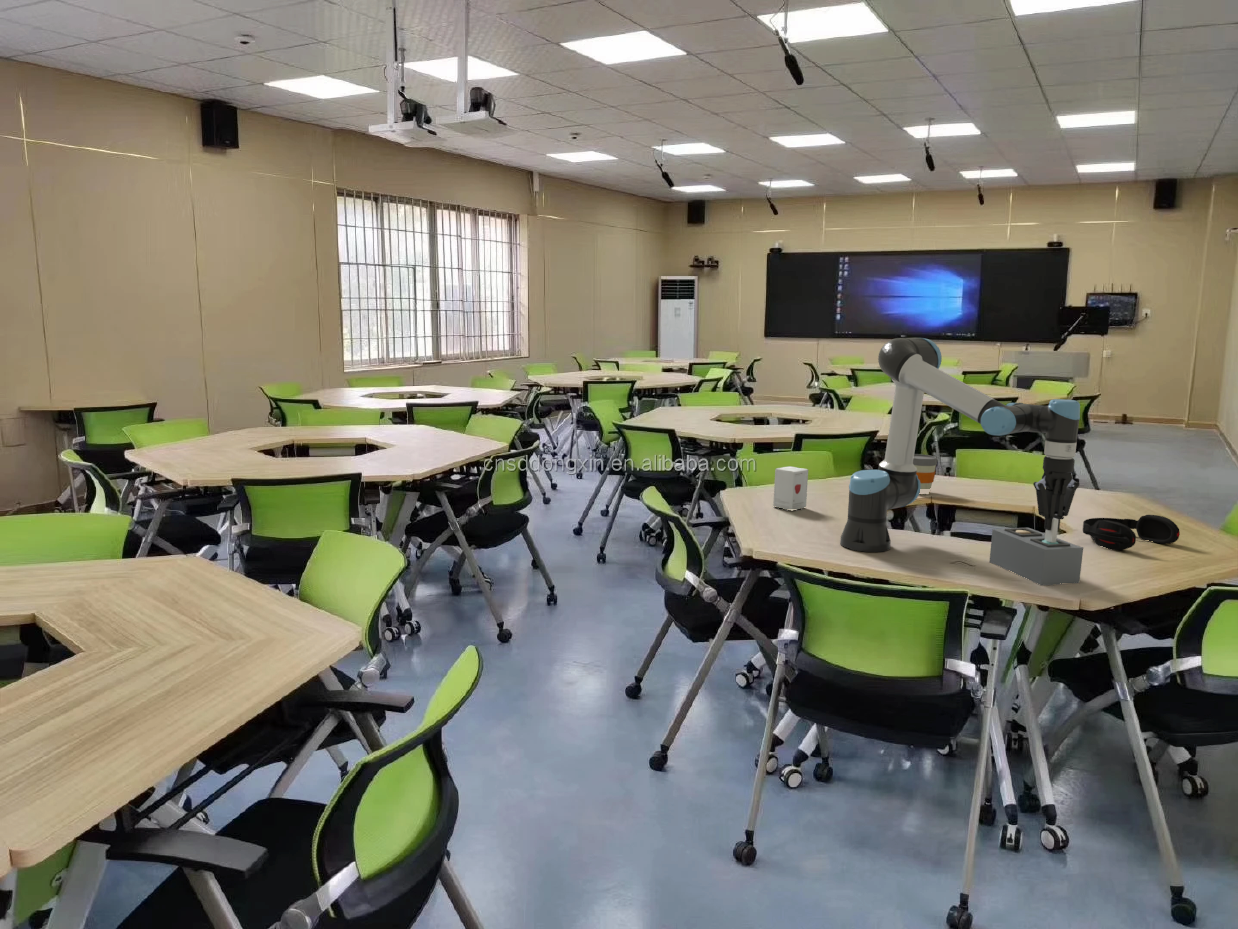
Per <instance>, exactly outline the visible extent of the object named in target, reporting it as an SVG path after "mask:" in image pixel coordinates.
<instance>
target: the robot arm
mask: <svg viewBox="0 0 1238 929" xmlns="http://www.w3.org/2000/svg"><path fill="white" fill-rule="evenodd" d="M877 356H878V358H877V360H878V361H877V362H878V365H879V368H880V369H881V371H882V372H883V373H884V374H885V375H887V376H888V377H890V378H891V380H892V382H893V383H894V385H895V387H894V388H895V389H894V396H893V402H892V409H891V416H890V422H889V429H888V433H887V434H888V435H887V441H886V442H887V443H886V448H885V456H884V459H883V460H882V461H880V463H879V464H878V468H877V469H862V470H858V471H855V472H854V473H852V475H851V476H850V481H849V485H848V491H849V492H848V508H847V519H846V520H847V521H846V523H845V525H844V528H843V531H842V533H841V536H840V540H839V541H840V545H841V546H842V547H843V546H844V548H845V547H847V548H846V549H848V548H850V549H849V550H852V551H856V550H857V551H858V552H866V553H881V552H882V553H883V552H887V551H889V550H890V549H891V542H892V541H891V537H890V533H889V529H888V526H887V515H888V510H892V509H898V508H904V507H907V506H909V505H910V504H912V503H914V502H915V501H916V500H917V499H918V498H919V496H920V495H919V493H920V489H921V484H920V480H919V479H918V476H917V475H916V472H917V468H916V467H915V466H914V464H913V458H914V454H915V450H916V445H917V438H918V432H919V428H920V427H919V426H920V419H921V413H922V408H923V401H924V395H925V394H927V395H928V396H930V397H932V398H933V399H935V400H936V401H940V402H941V403H942V404H944V405H946V406H948V407H950V408H951V409H953V410H955V411H957V412H958V413H960V414H962V415H964V416H966V417H967V418H970V419H971V420H973V421H975V422H976V423H977V424H980V427H981V428H982V429H983V431H984V432H985V433H986V434H988V435H991V436H1000V437H1001V436H1006V435H1010V434H1017V433H1023V432H1024V433H1025V432H1028V433H1029V432H1030V433H1038V434H1039V433H1040V434H1045V441H1044V451H1043V454H1044V455H1045V456H1044V457H1043V462H1042V469H1043V474H1042V476H1041V479H1040V480H1039V481H1034V482H1033V485H1032V486H1033V487H1034V489H1035V493H1036V501H1037V511H1038V515H1039V516H1042V517H1044V523H1043V525H1044V526H1043V529H1044V530H1045V533H1044V534H1045V540H1046V541H1049V542H1051V543H1053V542H1056V539H1057V538H1058V530H1060V529H1061V528H1060V526H1061V520H1063V519H1065V517H1067V516H1068V515H1069V512H1070V509H1071V506H1072V503H1073V500H1074V497H1075V493H1076V490H1078V488H1079V486H1080V482H1079V481H1076V480H1074V479H1073V474H1072V473H1073V472H1074V470H1075V461H1076V460H1075V459H1074V457H1076V454H1077V453H1076V451H1077V450H1076V449H1077V442H1078V434H1079V433H1078V432H1079V424H1080V420H1081V417H1080V415H1081V404H1080V402H1079V401H1077V400H1074V399H1061V398H1060V399H1059V398H1054V399H1050V401H1049V402H1048V403H1049V404H1048V405H1039V404H1031V403H1023V402H1009V403H1007V404H1004V403H1002V402H1000V401H998V400H996V399H995V398H993V397H991V396H989V395H987V394H985V393H984V392H982V391H980V390H978V389H976V388H974V387H973V386H970V385H969V384H966V383H965V382H964V381H961V380H960V379H958V378H956V377H955V376H952V375H950V374H949V373H947V372H944V371H943V370H942V369H940V367H941V364H942V360H943V359H942V352H941V349H940V347H939V346H938V344H936V342H934V341H933V340H931V339H928V338H924V337H897V338H893V339H891V340H888V341H887V342H886V343H884V344H883V345H882V346H881V348H880V349H879V353H878V355H877Z"/></svg>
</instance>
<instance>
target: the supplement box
mask: <svg viewBox="0 0 1238 929" xmlns="http://www.w3.org/2000/svg"><path fill="white" fill-rule="evenodd" d="M774 471H775V472H774V484H773V485H774V486H773V487H774V488H773V504H772V507H773V506H776V507H780V508H784V509H800V508H804V507H806V508H807V500H808V499H807V498H808V481H809V469H807V468H802V467H801V468H800V467H796V466H782V467H777V468H775V470H774Z"/></svg>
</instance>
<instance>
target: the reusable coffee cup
mask: <svg viewBox="0 0 1238 929" xmlns="http://www.w3.org/2000/svg"><path fill="white" fill-rule="evenodd" d="M913 464H914V466H915V467H916V468H917V472H916V475H917V476H918V479H919V480H920V484H921V489H930V488H931V489H932V484H933V483H934V481H935V477H936V476H935V475H936V467H937V465H938V459H937V457H936V456H935V455H929V454H922V453H921V454H919V453H914V458H913Z"/></svg>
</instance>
